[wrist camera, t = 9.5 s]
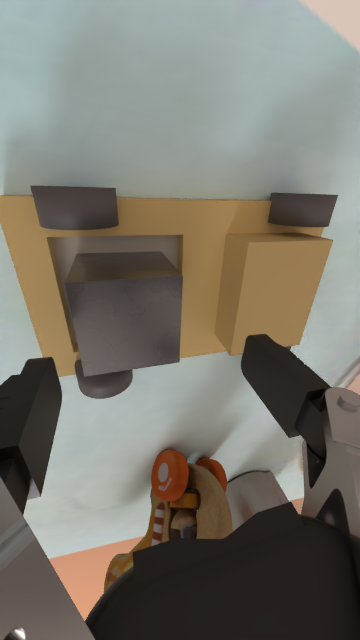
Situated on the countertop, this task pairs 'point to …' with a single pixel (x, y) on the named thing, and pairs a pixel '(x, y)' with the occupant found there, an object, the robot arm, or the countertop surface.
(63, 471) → the countertop surface
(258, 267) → the chassis
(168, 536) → the toy helicopter
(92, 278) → the block
